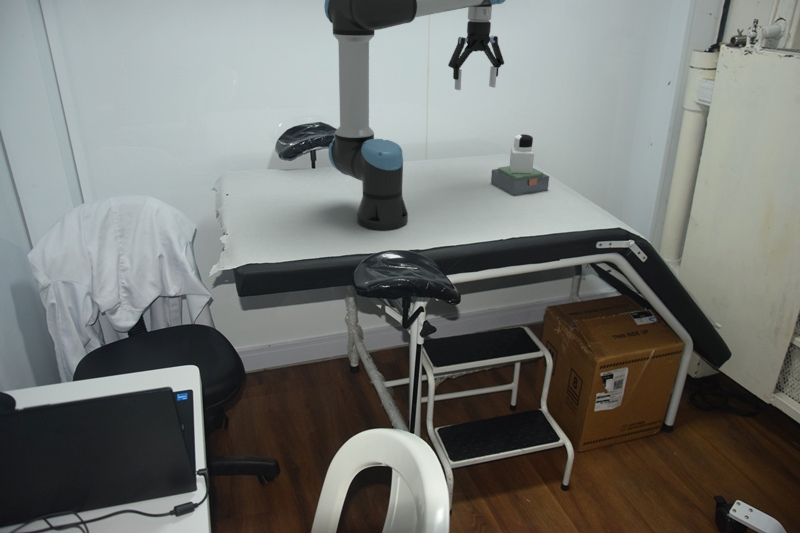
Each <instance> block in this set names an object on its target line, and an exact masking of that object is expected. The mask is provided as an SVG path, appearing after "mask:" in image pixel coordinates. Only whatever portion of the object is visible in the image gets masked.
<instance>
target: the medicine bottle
mask: <svg viewBox="0 0 800 533" xmlns="http://www.w3.org/2000/svg"><path fill="white" fill-rule="evenodd" d="M533 140H534V138H533V136H531V135H529V134H526V133H525V134H524V133H523V134H517V135H515V136H514V142H513V143H514V144H513V146H511V148H510V156H509V166H510V170H511V173H532V169H533V168H534V167H533V166H534V160H535V158H534V157H535V153H534V150H533Z"/></svg>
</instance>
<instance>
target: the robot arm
mask: <svg viewBox="0 0 800 533" xmlns="http://www.w3.org/2000/svg"><path fill="white" fill-rule="evenodd" d="M505 2H506V0H324V7H323V8H324V13H325V17H326V18H327V19H328V20H329V22H330V23H331V24H332V36H334V38H335V39H336V40H337V42H338V43H337V44H338V85H339V86H338V89H339V90H338V92H339V96H338V97H339V127H338V128H337V129H336V130H335V131H334V132H335V133H334V137H333V138H332V141H331V142H330V143H329V147H328V159H329V161H330V164H331V165H332V167H333V168H334V169H335V170H337V171H339V172H341V174H343V175H345V176H349V177H351V178H354V179H355V180H358V181H361V182H362V198H361V201H360V204H359V207H358V210H357V214H356V219H357V221H356V222H357V224H358V225H359V226H361V227H363V228H365V229H366V228H367V229H370V230H377V231H389V230H395V229H399V228H401V227H404V226H405V225H406V224H407V223H408V222H409V214H408V210H407V207H406V204H405V201H404V198H403V181H404V180H403V179H404V178H403V174H404V157H403V149H402V147H401V146H400V144H398V143H397V142H395V141H392V140H389V139H383V138H375V132H374V130H373V129H372V128H371V127H370V119H369V118H370V40H372V39H373V37H375V31H377V30H378V31H379V30H383V29H388V28H393V27H395V26H396V27H398V26H401V25H405V24H410V23H412V22H413V21H415V19H416V18H419V17H424V16H431V15H435V14H436V15H437V14H440V13H446V12H450V11H451V12H452V11H455V10H460V9H461V10H462V9H465V8H467V20H469V21H468V22H467V24H466V25H467V27H466V34H467V37H463V36H458V38H457V44H456V46H455V49H454V51H453V53H452V55H451V58H450V60H449V62H448V65H447V66H448V67H449V68H450V69H451V68H452V70H453V73H452V78H453V80H454V90H456V91H462V90H461V89H462V88H461V87H462V71H463V70H462V69H461V67H462V65H464V63H465V62H466V61H467V59H468V57H469V56H470V55H471V54H472V53H473V52H484V55H486V57H487V59H488V61H490V64H491V65H492V66H490V70H489V83H488V86H489V87H490V88H496V84H497V83H496V82H497V77H498V76H499V68H501V66H503V65H504V64H505V61H504V57H503V54H502V52H501V48H500V45H499V38H498V35H491V36H490V34H491V29H492V28H491V26H492V22H491V21H490V20H492V12H493V11H492V10H493V6H494V5H501V4H504V3H505ZM489 43H490V46H491V47H490V46H489ZM466 44H467V45H466ZM465 45H466V46H465ZM491 48H492V49H491ZM463 49H464V50H463ZM462 51H463V52H462Z"/></svg>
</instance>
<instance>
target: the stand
mask: <svg viewBox="0 0 800 533" xmlns="http://www.w3.org/2000/svg"><path fill="white" fill-rule="evenodd" d="M490 177H491V178H490V179H491V180H490V184H491V185H493V186H495V187H497V188H499V189H501V190H502V191H503V192H505V193H508V194H509V195H511V196H516V197H517V196H521V195H528V194H534V193H539V192H546V191H548V190H549V183H550V182H549V181H550V175H547V174H545V173H544V172H542V171H540V170H538V169H537V168H534V167H533V169H532V173H511V170H510V165H508V166H501V167H497V168H495V169H491V175H490Z"/></svg>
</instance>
